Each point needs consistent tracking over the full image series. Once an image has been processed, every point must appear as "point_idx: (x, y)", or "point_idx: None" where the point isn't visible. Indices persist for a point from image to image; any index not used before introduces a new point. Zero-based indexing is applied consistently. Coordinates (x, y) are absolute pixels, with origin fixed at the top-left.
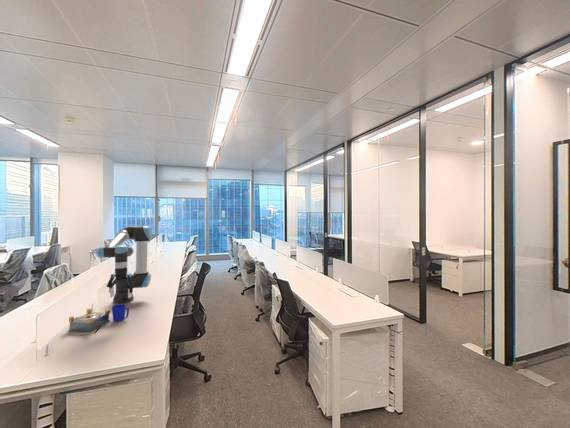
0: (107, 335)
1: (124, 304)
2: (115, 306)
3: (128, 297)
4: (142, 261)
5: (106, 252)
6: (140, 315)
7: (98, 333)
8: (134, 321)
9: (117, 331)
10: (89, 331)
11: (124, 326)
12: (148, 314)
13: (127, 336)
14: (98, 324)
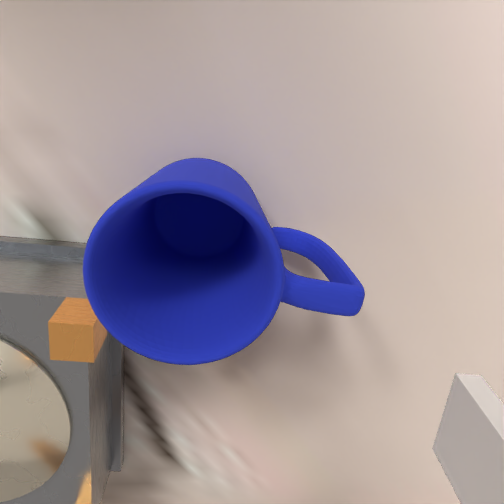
0: (305, 494)
1: (229, 201)
2: (105, 248)
3: (448, 460)
4: None
5: None
6: (395, 64)
7: (209, 471)
8: (400, 244)
9: (346, 438)
10: (118, 469)
11: (355, 354)
12: (491, 24)
13: None
14: (108, 393)
